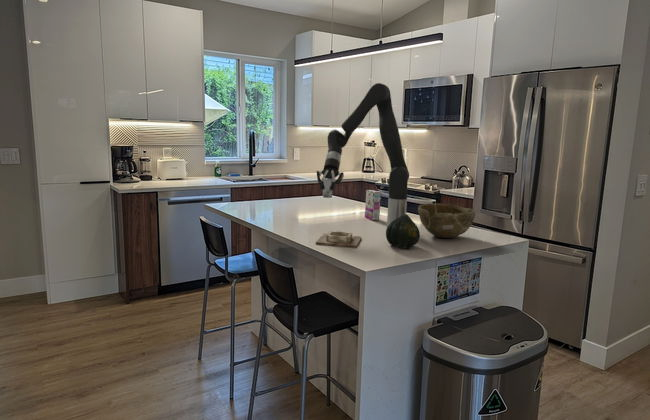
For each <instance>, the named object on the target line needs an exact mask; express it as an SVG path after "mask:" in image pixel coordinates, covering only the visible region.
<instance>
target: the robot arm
mask: <svg viewBox="0 0 650 420" xmlns="http://www.w3.org/2000/svg"><path fill="white" fill-rule="evenodd" d="M392 103H393V102H392V96H391V91H390V88H389V87H388V86H387V85H386V84H384V83H381V82H378V83H377V82H376V83H374V84H373V85H371V86H370V88H369V89H368V91H367V92H366V94H365V96H364V98H363V99H362V100H361V101H360V103H359V104H358V105H357V106H356V107H355V109H354V110H353V111H352V112H351V113H350V114H349V116H348V117H347V118H346V119H345V120H344V121H343V122H342V124H341V129H342V130H343V132H344V134H343V133H342V132H341V131H339V130H337V129H331V130H330V131H329V132H328V135H327V146H328V147H327V148H328V149H327V154H326V157H325V160H324V161H325V162H324V166H323V169H322V170H321V171H319V170H316V179H317V182H318V184H319V188H320V190H321V191H323V178H331V179H333V182H332V186H331V190H332V192H333V191H334V190H335V189H336V186H337V185H340V184H341V182H342V180H343V179H344V177H345V176H344V175H345V174H344V172H343V171H342V172H340V171H339V170H340V166H341V159H342V153H343V148H344V147H345V146H346V145H347V144H348V142H349V139H350V138H351V137H352V134H353V133H354V132H355V131H356V130H357V128H358V127H360V125H361V124H363V121H364V120H365V119H366V117H367V115H368V114H369V112H370V111H371V110H372V109H373V108H374V107H375V106H376V108H377V110H378V111H377V112H378V129H379V135H380V139H381V143H382V145H383V148H384V151H385V153H386V154H387V157H388V160H389V164H390V171H389V176H388V190H387V191H388V199H387V201H388V202H387V205H388V206H387V216H386V217H387V219H386V228H387V227H388V225H389V224H390V223H391V222H392V221H393V220H395V219H396V218H398V217H400V216H402V215H406V214H407V205H408V203H407V202H408V182H409V179H410V171H409V169H408V166H407V164H406V161H405V157H404V153H403V152H404V151H403V145H402V139H401V136H400V132H399V131H400V130H399V128H398V123H397V120H396V117H395V113H394V109H393V104H392ZM321 176H322V178H321ZM337 177H338V178H337ZM336 178H337V179H336Z"/></svg>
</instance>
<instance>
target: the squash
mask: <svg viewBox="0 0 650 420" xmlns="http://www.w3.org/2000/svg"><path fill="white" fill-rule="evenodd" d="M420 234H421V233H420V229H419V227H418V226H417V224H416V223H415V222H414V221H413V219H412V218H411V216H409V215H408V214H407V213H406V215H402V216H400V217H398V218H396V219H395V220H393V221H392V222H391V223H390V224H389V225H388V227H387V226H386V229H385V238H386V241H387V243H389V245H391V246H394V247H395V246H398V248H400V249H402V250H403V249H410V248H412V247H413V246H416V245H417V244H418V242H419V240H420V236H421V235H420Z"/></svg>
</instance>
